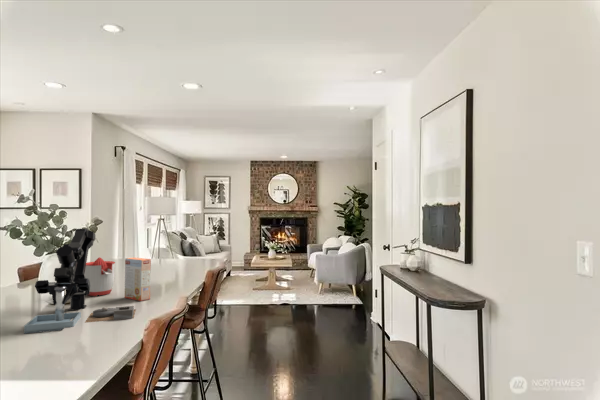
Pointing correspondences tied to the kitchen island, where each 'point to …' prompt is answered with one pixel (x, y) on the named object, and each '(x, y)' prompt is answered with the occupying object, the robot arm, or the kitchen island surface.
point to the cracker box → (137, 278)
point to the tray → (51, 323)
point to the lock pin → (59, 303)
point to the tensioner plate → (112, 314)
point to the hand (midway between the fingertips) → (58, 304)
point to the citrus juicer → (100, 276)
